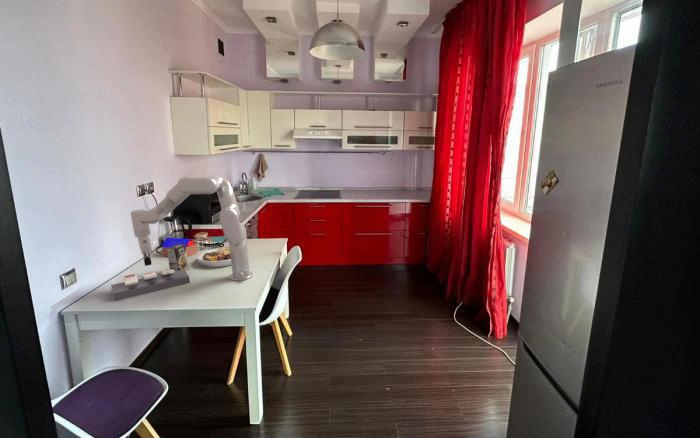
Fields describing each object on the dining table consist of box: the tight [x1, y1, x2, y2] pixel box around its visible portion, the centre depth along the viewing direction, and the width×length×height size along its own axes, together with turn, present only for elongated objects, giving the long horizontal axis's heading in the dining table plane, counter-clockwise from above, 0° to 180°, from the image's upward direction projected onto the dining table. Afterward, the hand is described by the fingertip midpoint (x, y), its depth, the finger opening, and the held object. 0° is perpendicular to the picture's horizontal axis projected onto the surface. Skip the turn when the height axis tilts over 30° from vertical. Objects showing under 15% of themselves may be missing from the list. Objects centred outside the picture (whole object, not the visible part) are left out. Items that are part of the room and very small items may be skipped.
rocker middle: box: [142, 271, 158, 280], centre depth 202 cm, size 8×6×2 cm
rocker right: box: [160, 269, 175, 276], centre depth 207 cm, size 8×6×2 cm
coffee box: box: [167, 244, 190, 272], centre depth 222 cm, size 9×6×16 cm
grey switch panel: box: [111, 269, 191, 302], centre depth 201 cm, size 14×36×4 cm, turn 125°
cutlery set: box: [209, 235, 227, 250], centre depth 280 cm, size 20×30×2 cm, turn 6°
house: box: [160, 237, 199, 258], centre depth 256 cm, size 12×20×12 cm, turn 72°
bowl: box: [197, 246, 231, 268], centre depth 241 cm, size 30×30×8 cm
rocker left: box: [122, 273, 139, 286], centre depth 197 cm, size 8×6×2 cm
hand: (148, 264), depth 203 cm, fingers closed
